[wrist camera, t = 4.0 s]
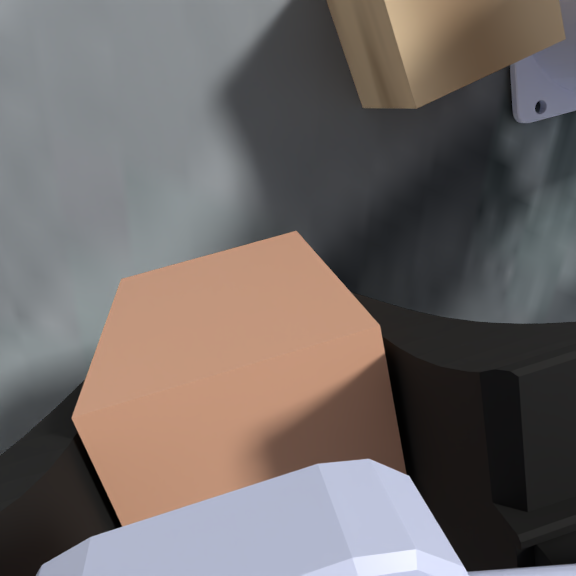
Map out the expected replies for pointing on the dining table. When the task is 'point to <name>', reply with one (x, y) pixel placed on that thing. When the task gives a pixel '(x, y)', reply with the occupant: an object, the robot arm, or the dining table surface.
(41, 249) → the dining table surface
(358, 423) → the terracotta block
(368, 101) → the oak cube
